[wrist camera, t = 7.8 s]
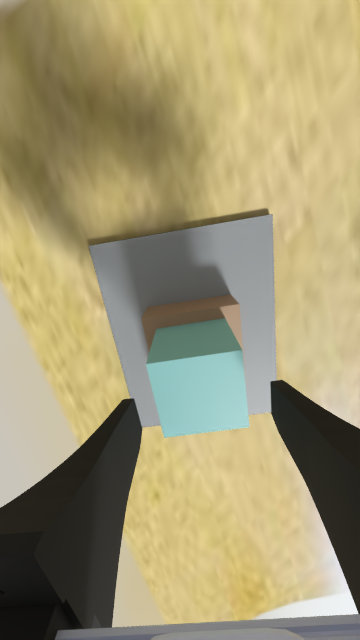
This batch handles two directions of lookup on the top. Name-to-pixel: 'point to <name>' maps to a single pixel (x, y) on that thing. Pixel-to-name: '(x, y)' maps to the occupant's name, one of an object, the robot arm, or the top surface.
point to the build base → (192, 298)
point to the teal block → (198, 378)
